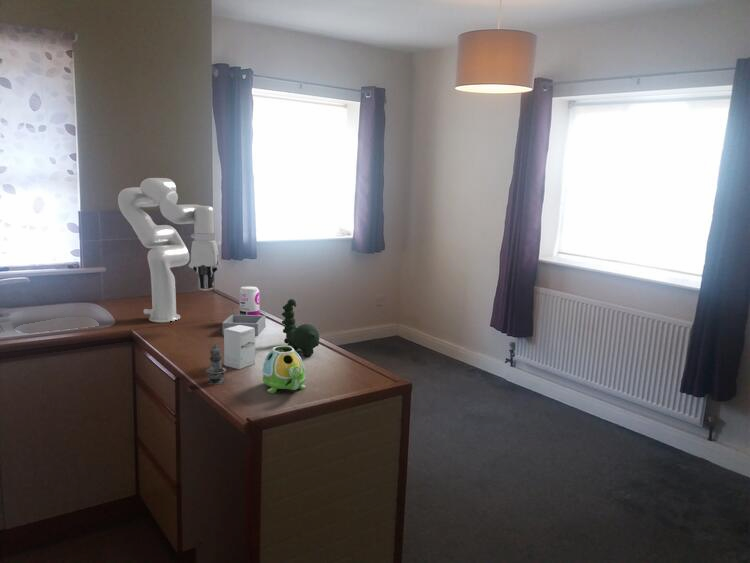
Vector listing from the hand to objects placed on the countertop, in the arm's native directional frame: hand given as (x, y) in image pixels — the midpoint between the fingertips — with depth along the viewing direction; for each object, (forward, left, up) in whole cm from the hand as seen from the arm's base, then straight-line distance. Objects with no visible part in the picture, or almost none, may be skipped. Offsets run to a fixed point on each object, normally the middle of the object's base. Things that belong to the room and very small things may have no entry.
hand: (205, 283), depth 231 cm
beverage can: (0, 0, -3) cm, 3 cm away
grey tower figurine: (+21, -58, -19) cm, 65 cm away
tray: (+15, 0, -19) cm, 25 cm away
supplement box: (+24, -42, -19) cm, 52 cm away
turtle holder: (+43, -62, -19) cm, 78 cm away
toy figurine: (+42, -24, -19) cm, 52 cm away
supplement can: (+14, +14, -19) cm, 28 cm away
